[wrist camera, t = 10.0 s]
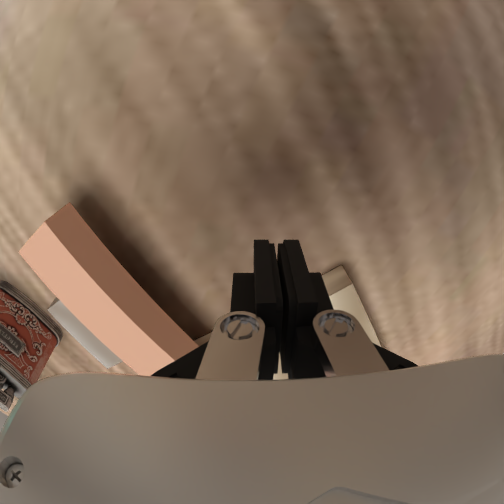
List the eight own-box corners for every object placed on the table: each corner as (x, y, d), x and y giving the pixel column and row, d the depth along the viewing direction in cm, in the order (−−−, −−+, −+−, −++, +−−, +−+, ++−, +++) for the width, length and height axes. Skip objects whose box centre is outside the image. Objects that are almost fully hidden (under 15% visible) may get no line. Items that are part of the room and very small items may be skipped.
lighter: (67, 330, 23) (23, 418, 14) (55, 347, 24) (16, 429, 15) (1, 273, 21) (-62, 346, 12) (-6, 294, 21) (-61, 364, 13)
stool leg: (236, 379, 23) (237, 410, 20) (203, 392, 23) (201, 422, 21) (70, 201, 16) (45, 220, 13) (42, 230, 16) (17, 252, 14)
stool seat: (272, 139, 18) (284, 150, 14) (398, 392, 30) (412, 422, 26) (72, 274, 21) (47, 309, 17) (266, 447, 33) (270, 477, 29)
